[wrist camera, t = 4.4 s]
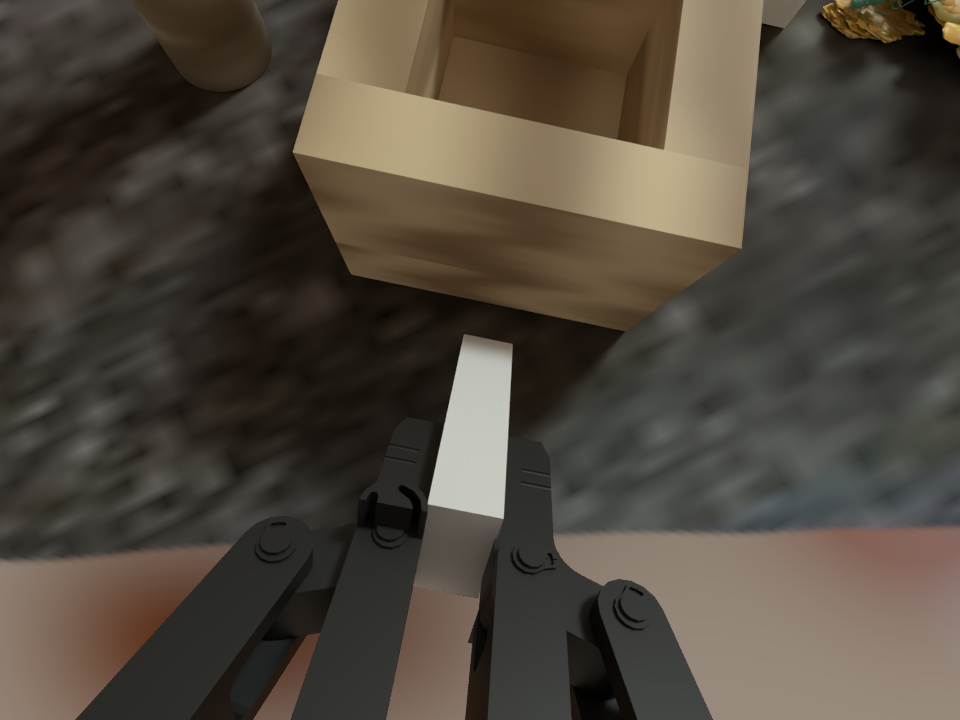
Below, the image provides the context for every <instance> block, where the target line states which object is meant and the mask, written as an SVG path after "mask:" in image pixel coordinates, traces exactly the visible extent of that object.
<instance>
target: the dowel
mask: <svg viewBox="0 0 960 720" xmlns="http://www.w3.org/2000/svg"><path fill="white" fill-rule="evenodd" d="M131 1H132V3H133V4H134V6H135V7H136V9H137V10H138V12H139V13H140V15H141V16H142V18H143V19H144V21H145V22H146V24H147V25H148V27H149V28H150V30H151V31H152V33H153V34H154V36H155V37H156V39H157V40H158V42H159V43H160V45H161V46H162V48H163V49H164V51H165V52H166V54H167V55H168V56H169V58H170V59H171V61H172V62H173V64H174V65H175V67H176V68H177V70H178V71H179V73H180V74H181V75H182V76H183V77H184V78H185V79H186V80H187V81H188V82H190V83H191V84H193V85H195V86H196V87H199V88H201V89H204V90H208V91H214V92H228V91H233V90H237V89H241V88H243V87H245V86H247V85H249V84H251V83H253V82H254V81H255V80H257V79H258V78H259V77H260V76H261V75H262V74H263V72H264V71H265V70H266V68H267V66H268V64H269V62H270V58H271V53H272V46H271V41H270V37H269V35H268V32H267V30H266V27H265V25H264V23H263V20H262V18H261V15H260V13H259V10H258V8H257V5H256V3H255V0H131Z"/></svg>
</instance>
